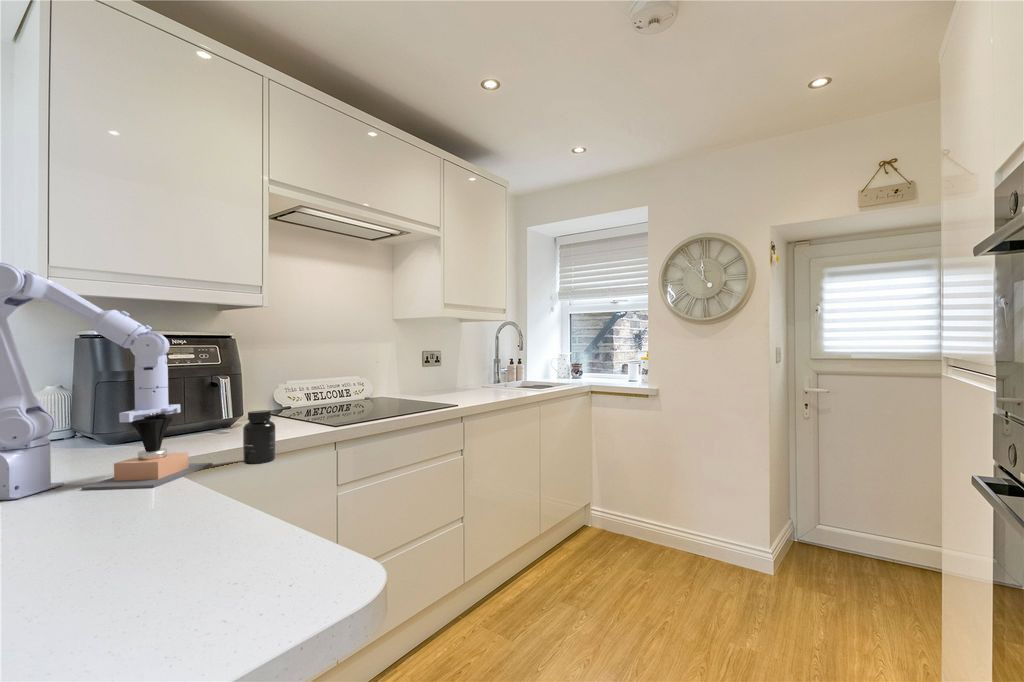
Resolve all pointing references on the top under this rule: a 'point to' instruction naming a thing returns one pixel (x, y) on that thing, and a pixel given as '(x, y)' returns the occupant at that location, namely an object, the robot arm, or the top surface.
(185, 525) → the top surface
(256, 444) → the supplement bottle
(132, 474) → the tan rectangular brick
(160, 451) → the plunger
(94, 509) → the top surface
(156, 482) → the mat
